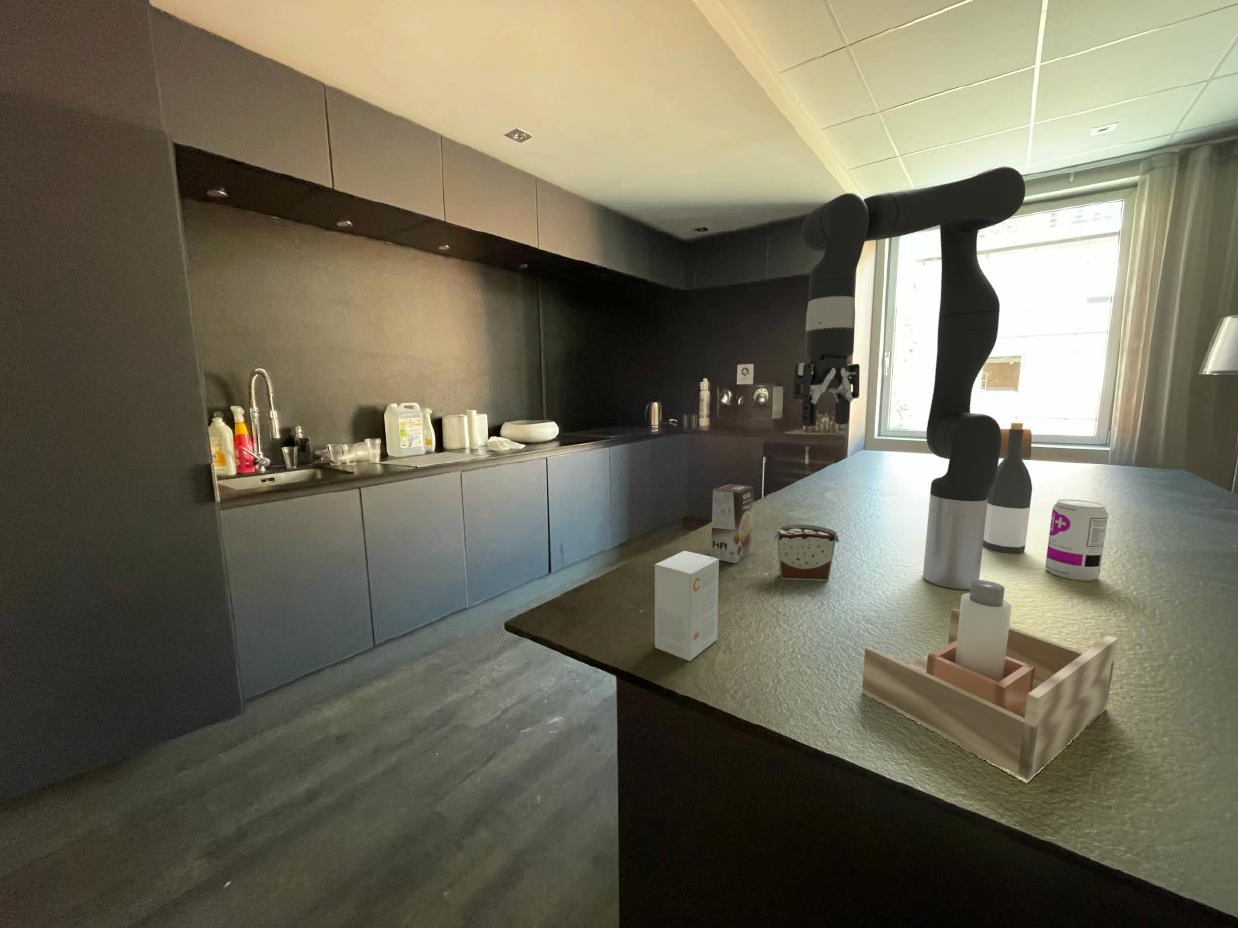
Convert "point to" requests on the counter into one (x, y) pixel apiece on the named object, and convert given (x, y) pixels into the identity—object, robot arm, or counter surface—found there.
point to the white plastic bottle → (983, 629)
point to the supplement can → (1076, 539)
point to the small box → (686, 604)
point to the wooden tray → (1000, 696)
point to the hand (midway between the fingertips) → (825, 425)
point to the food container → (805, 551)
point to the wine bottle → (1009, 500)
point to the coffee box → (732, 522)
